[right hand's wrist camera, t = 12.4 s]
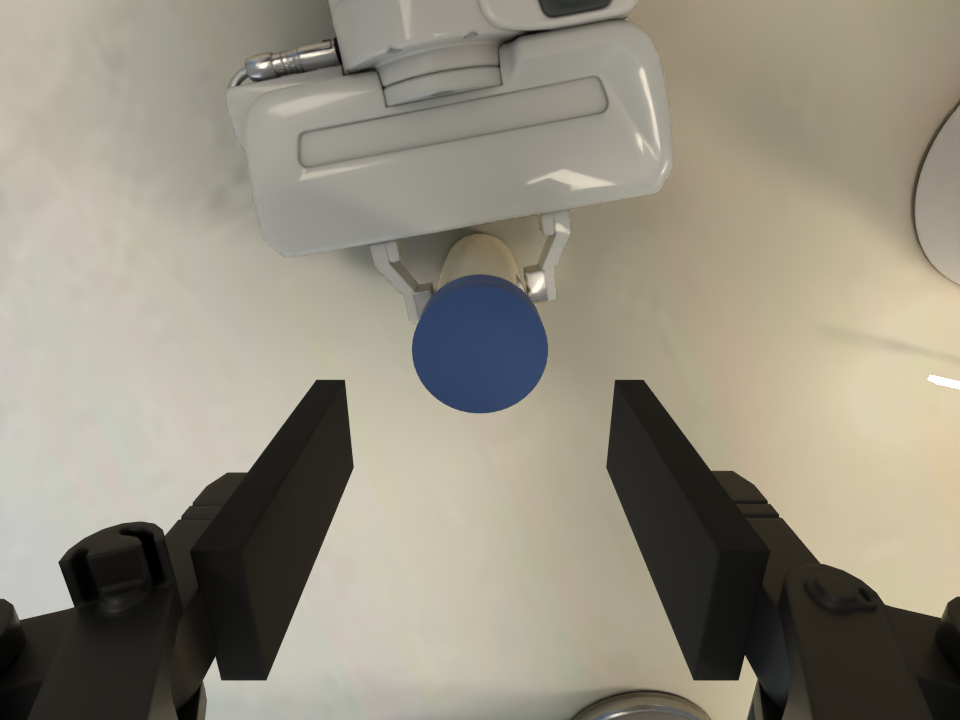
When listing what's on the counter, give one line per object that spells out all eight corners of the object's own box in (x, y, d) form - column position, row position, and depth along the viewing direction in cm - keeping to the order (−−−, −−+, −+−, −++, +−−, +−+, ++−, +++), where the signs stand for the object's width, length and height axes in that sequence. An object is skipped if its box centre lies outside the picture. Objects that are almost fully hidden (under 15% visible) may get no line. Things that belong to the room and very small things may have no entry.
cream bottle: (490, 317, 36) (497, 424, 21) (431, 280, 35) (396, 365, 20) (529, 259, 34) (565, 331, 20) (468, 219, 33) (460, 264, 19)
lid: (497, 411, 23) (499, 435, 21) (395, 352, 22) (387, 371, 20) (566, 317, 21) (575, 333, 19) (460, 249, 20) (458, 258, 18)
